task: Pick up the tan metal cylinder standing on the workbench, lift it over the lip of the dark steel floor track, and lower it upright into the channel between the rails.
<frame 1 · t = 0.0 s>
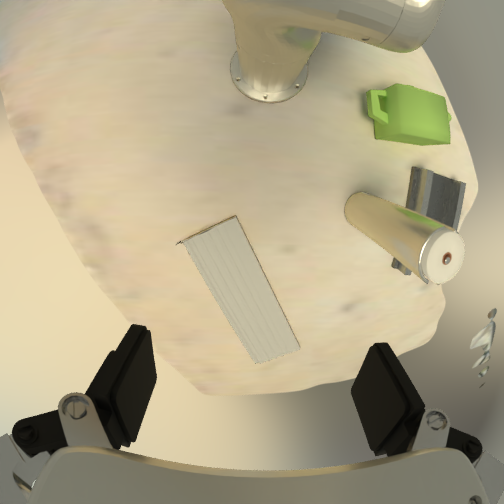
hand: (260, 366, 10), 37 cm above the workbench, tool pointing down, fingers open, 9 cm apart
baseboard: (243, 299, 52), on the workbench
tan metal cylinder: (360, 209, 45), on the workbench
floor track: (427, 222, 46), on the workbench
lime handled box: (401, 116, 39), on the workbench
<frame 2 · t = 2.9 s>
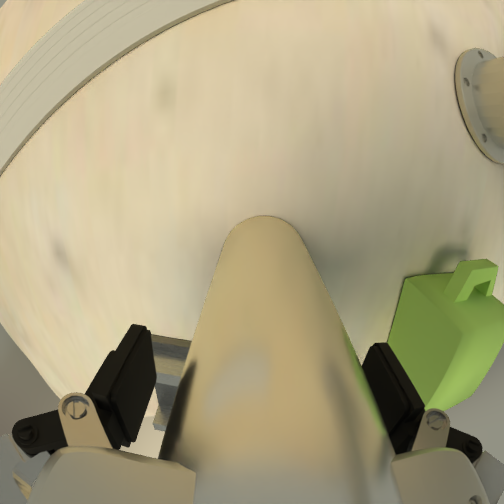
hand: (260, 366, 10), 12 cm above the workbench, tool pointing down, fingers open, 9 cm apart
baseboard: (74, 46, 15), on the workbench
tan metal cylinder: (263, 254, 22), on the workbench
floor track: (245, 390, 27), on the workbench
lime handled box: (426, 322, 24), on the workbench
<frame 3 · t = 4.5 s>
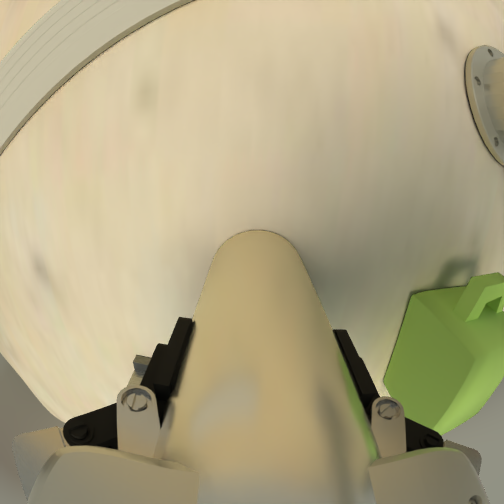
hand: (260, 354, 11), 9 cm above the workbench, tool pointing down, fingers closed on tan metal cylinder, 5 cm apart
baseboard: (53, 45, 13), on the workbench
tan metal cylinder: (256, 272, 19), on the workbench, touching gripper
floor track: (239, 411, 25), on the workbench
lime handled box: (431, 338, 22), on the workbench
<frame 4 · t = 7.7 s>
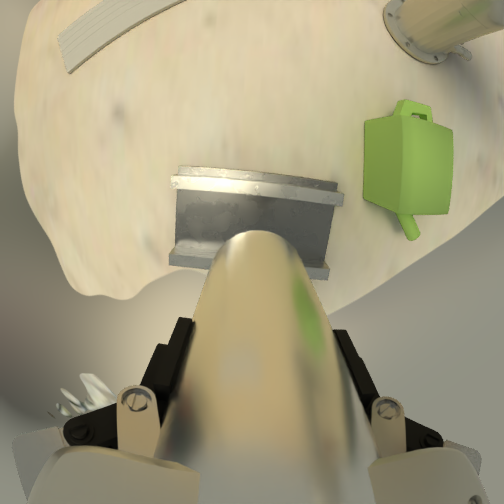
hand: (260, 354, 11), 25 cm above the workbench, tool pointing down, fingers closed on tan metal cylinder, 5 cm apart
tan metal cylinder: (256, 273, 19), point 17 cm above the workbench, touching gripper
floor track: (253, 221, 35), on the workbench
lime handled box: (393, 168, 33), on the workbench
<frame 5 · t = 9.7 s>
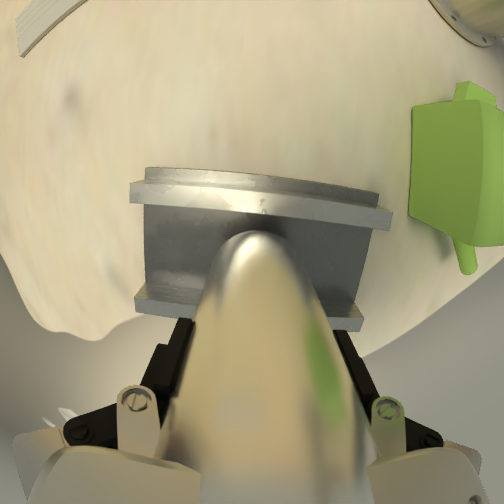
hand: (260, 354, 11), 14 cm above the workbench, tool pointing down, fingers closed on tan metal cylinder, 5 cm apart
tan metal cylinder: (256, 273, 19), point 5 cm above the workbench, touching gripper
floor track: (256, 249, 24), on the workbench
lime handled box: (445, 175, 22), on the workbench
when the fingers open (11 cm above the workbench, at t = 11.2 s): tan metal cylinder drops 1 cm, resting on floor track.
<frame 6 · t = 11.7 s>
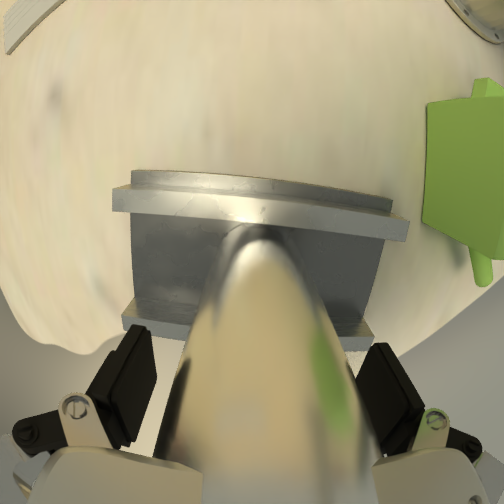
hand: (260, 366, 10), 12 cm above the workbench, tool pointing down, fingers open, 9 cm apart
tan metal cylinder: (257, 262, 21), point 1 cm above the workbench, touching floor track
floor track: (256, 261, 22), on the workbench
lime handled box: (460, 178, 19), on the workbench
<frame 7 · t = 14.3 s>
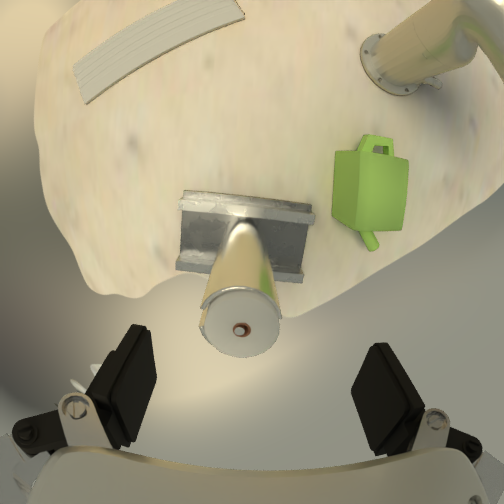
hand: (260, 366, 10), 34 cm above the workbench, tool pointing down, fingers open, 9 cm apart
baseboard: (150, 35, 33), on the workbench
tan metal cylinder: (243, 236, 43), point 1 cm above the workbench, touching floor track
floor track: (243, 235, 44), on the workbench
lime handled box: (360, 190, 42), on the workbench
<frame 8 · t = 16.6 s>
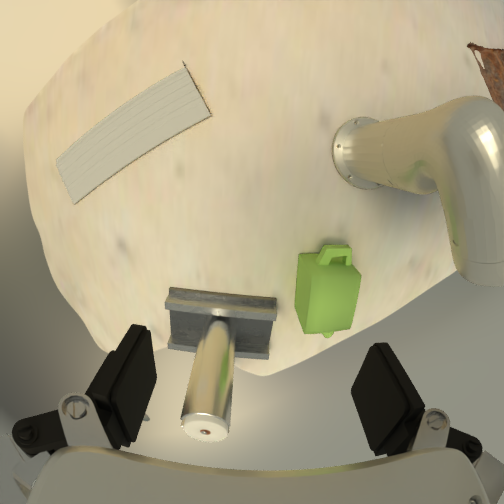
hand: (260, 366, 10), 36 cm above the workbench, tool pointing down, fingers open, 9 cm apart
baseboard: (122, 133, 41), on the workbench
tan metal cylinder: (220, 323, 51), point 1 cm above the workbench, touching floor track
floor track: (220, 321, 52), on the workbench
lime handled box: (322, 283, 50), on the workbench
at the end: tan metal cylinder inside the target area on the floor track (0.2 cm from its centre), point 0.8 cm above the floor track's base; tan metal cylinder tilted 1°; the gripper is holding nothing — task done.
